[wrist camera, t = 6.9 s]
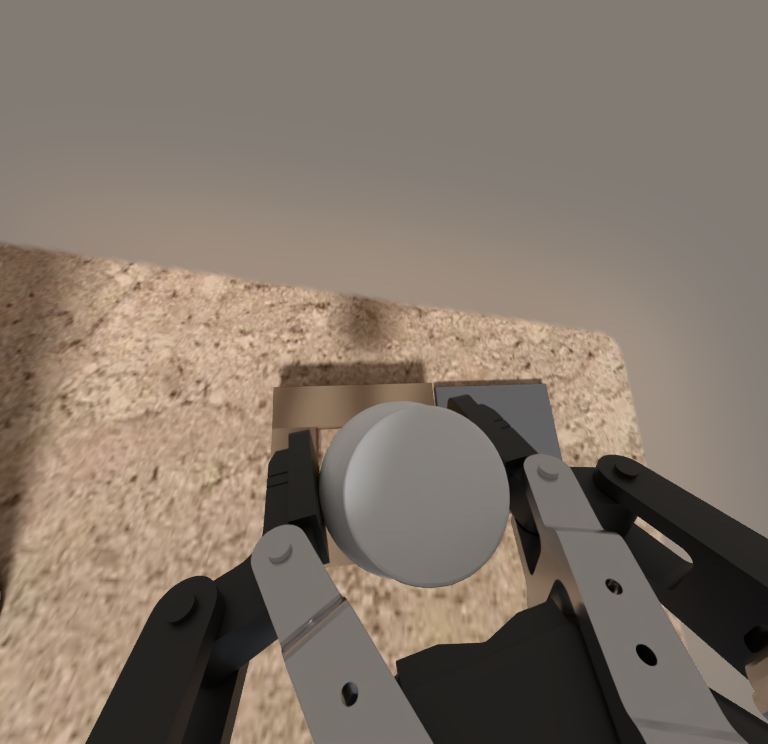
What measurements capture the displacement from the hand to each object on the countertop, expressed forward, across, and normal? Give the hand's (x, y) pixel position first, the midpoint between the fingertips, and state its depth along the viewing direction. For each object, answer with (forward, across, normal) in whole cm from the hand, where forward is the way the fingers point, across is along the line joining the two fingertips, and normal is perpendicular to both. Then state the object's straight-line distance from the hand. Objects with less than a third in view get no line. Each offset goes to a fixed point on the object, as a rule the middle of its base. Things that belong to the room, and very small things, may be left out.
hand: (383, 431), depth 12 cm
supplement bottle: (+3, 0, +5) cm, 6 cm away
